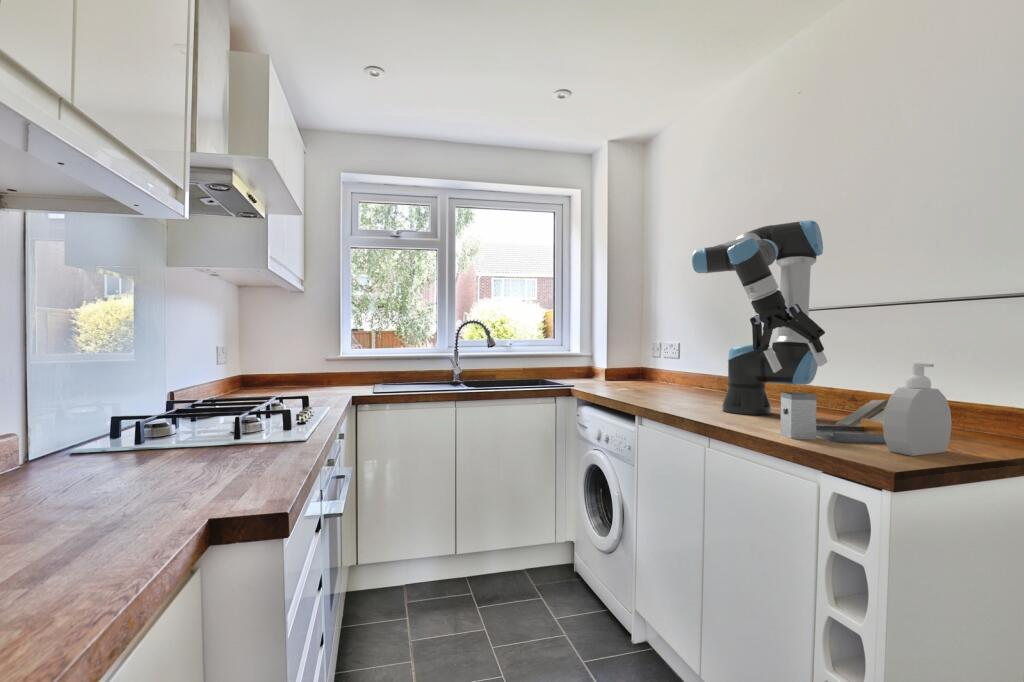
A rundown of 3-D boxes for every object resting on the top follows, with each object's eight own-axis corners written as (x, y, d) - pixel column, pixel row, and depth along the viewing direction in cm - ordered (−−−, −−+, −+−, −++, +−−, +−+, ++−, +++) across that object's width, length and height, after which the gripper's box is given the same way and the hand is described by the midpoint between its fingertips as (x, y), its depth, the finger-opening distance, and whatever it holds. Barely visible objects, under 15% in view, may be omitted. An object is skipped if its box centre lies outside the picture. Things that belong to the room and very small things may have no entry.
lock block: (779, 434, 132) (779, 392, 132) (804, 434, 131) (804, 392, 131) (789, 438, 126) (790, 394, 125) (816, 439, 125) (816, 395, 125)
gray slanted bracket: (902, 449, 133) (934, 411, 136) (880, 425, 133) (912, 388, 136) (853, 446, 149) (882, 412, 152) (833, 424, 149) (863, 391, 152)
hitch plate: (810, 432, 134) (810, 417, 134) (865, 434, 132) (866, 418, 132) (835, 442, 122) (835, 424, 122) (896, 443, 120) (896, 426, 120)
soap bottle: (908, 457, 106) (909, 364, 106) (881, 452, 111) (883, 363, 111) (953, 452, 112) (955, 363, 112) (926, 447, 117) (928, 362, 117)
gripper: (720, 311, 141) (752, 378, 141) (797, 287, 118) (835, 367, 118) (737, 301, 144) (769, 367, 144) (815, 276, 121) (853, 354, 121)
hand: (799, 367), depth 131 cm, fingers open, 13 cm apart
